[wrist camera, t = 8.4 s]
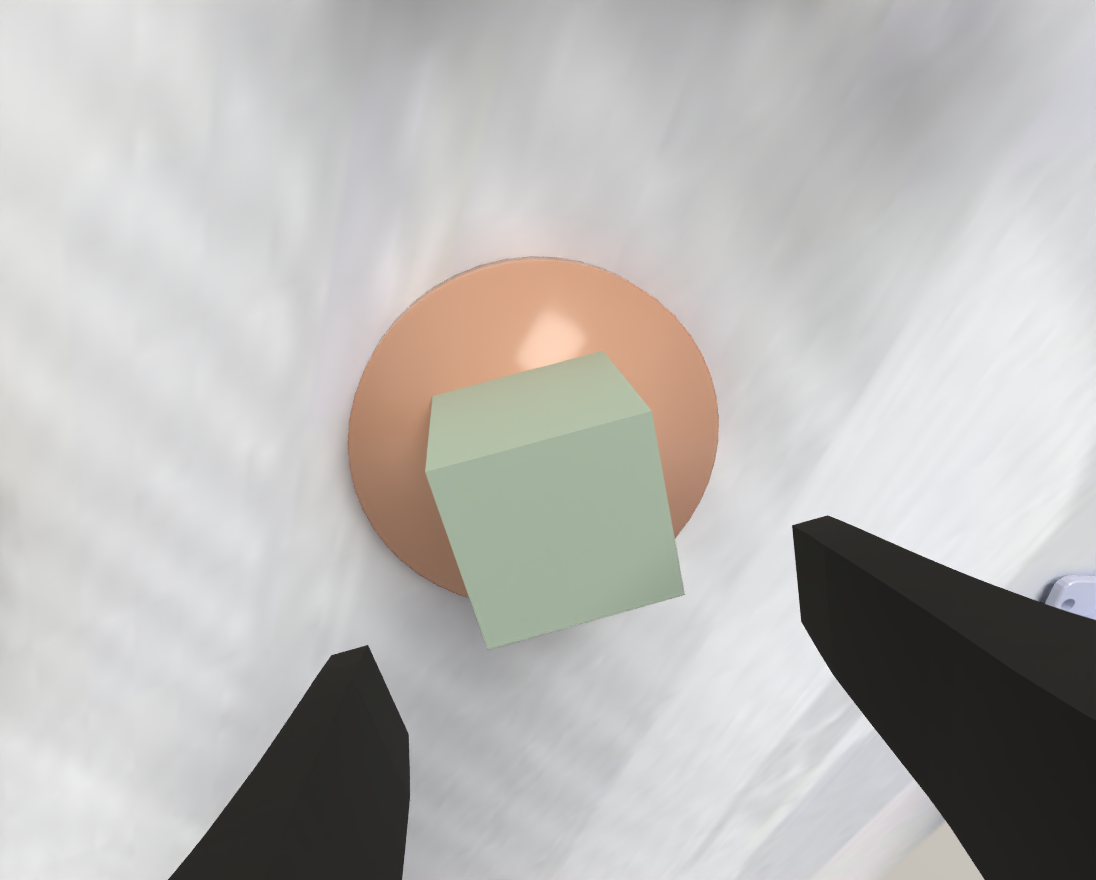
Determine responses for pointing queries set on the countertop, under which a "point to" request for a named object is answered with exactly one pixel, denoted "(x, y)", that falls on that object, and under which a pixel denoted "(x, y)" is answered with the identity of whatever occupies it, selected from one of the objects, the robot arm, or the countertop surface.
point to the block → (552, 498)
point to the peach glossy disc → (509, 348)
